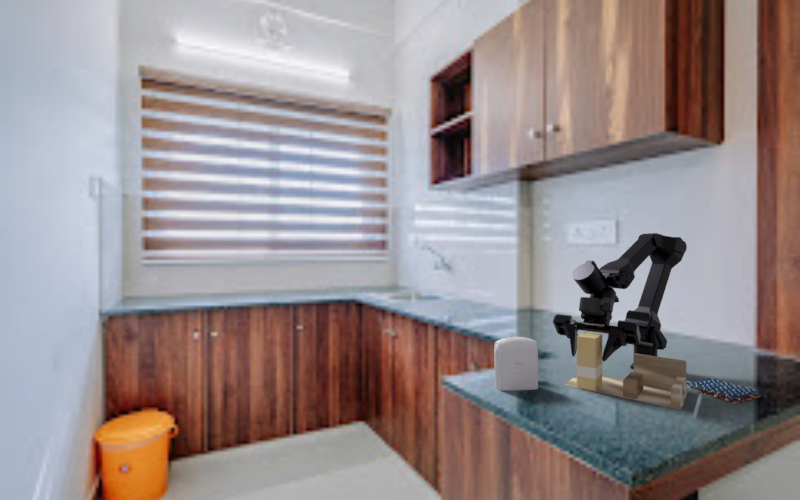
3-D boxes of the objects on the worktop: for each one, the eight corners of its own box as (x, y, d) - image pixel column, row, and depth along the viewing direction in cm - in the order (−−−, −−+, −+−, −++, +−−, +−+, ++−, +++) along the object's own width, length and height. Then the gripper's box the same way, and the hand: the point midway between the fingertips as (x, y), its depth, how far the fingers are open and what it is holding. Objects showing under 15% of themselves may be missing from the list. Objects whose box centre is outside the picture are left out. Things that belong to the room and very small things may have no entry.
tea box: (584, 381, 98) (584, 332, 98) (602, 384, 95) (602, 334, 96) (576, 387, 93) (576, 336, 94) (595, 391, 91) (595, 338, 91)
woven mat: (735, 407, 85) (735, 397, 85) (683, 390, 95) (683, 382, 95) (763, 399, 89) (763, 390, 89) (711, 385, 99) (711, 376, 99)
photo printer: (497, 393, 91) (497, 339, 91) (491, 387, 95) (491, 335, 95) (541, 392, 92) (541, 338, 92) (533, 386, 96) (533, 334, 96)
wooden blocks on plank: (581, 373, 106) (581, 345, 106) (687, 393, 91) (687, 360, 91) (563, 387, 95) (563, 355, 95) (680, 412, 81) (680, 374, 81)
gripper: (555, 282, 103) (539, 332, 95) (638, 287, 91) (627, 343, 83) (565, 309, 109) (551, 358, 101) (644, 317, 97) (635, 373, 89)
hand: (587, 357), depth 93 cm, fingers open, 6 cm apart
